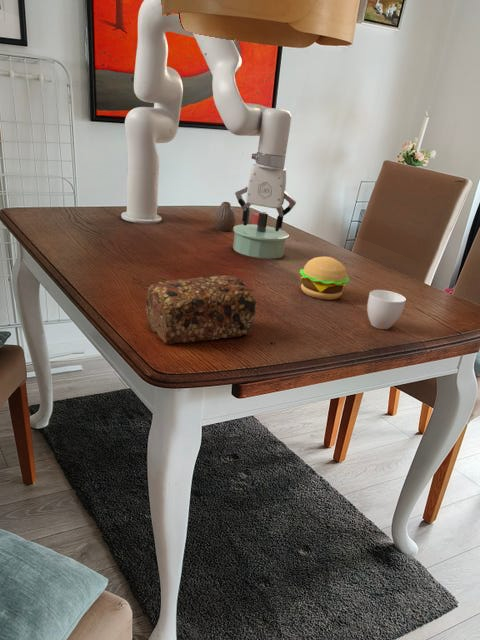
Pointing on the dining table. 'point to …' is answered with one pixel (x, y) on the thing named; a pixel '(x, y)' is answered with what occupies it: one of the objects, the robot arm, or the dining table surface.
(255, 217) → the red cylinder
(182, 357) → the dining table surface
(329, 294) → the hamburger
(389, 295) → the cup
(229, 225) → the vase
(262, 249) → the pot
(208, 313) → the bread
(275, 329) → the dining table surface
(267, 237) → the lid
